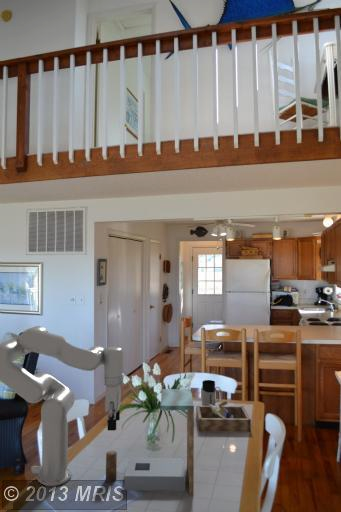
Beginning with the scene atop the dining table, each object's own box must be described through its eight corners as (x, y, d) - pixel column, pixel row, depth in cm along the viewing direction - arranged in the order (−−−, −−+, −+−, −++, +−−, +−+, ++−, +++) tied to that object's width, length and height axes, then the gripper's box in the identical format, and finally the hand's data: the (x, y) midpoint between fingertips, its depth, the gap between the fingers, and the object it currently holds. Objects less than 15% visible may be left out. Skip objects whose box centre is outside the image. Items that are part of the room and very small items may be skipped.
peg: (104, 482, 147) (105, 455, 147) (106, 477, 151) (107, 450, 151) (115, 482, 147) (115, 455, 147) (117, 477, 151) (117, 450, 151)
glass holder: (208, 403, 236) (208, 378, 237) (225, 410, 225) (225, 384, 226) (198, 406, 231) (198, 381, 231) (215, 413, 219) (215, 386, 220)
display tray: (198, 431, 195) (198, 419, 195) (196, 416, 215) (196, 405, 215) (250, 431, 195) (250, 419, 195) (243, 417, 215) (243, 406, 215)
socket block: (124, 490, 142) (124, 476, 142) (128, 470, 156) (128, 457, 156) (184, 490, 142) (184, 476, 142) (183, 471, 156) (183, 458, 156)
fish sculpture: (213, 392, 213) (216, 400, 198) (245, 409, 212) (250, 419, 197) (203, 412, 213) (204, 422, 198) (235, 430, 211) (239, 441, 196)
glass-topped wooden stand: (159, 495, 139) (160, 405, 140) (161, 467, 159) (161, 389, 160) (193, 495, 139) (193, 405, 140) (190, 467, 159) (190, 389, 160)
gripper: (107, 374, 159) (107, 416, 159) (100, 386, 142) (100, 434, 141) (125, 374, 159) (126, 416, 159) (120, 386, 142) (120, 434, 141)
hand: (113, 425), depth 150 cm, fingers open, 9 cm apart
